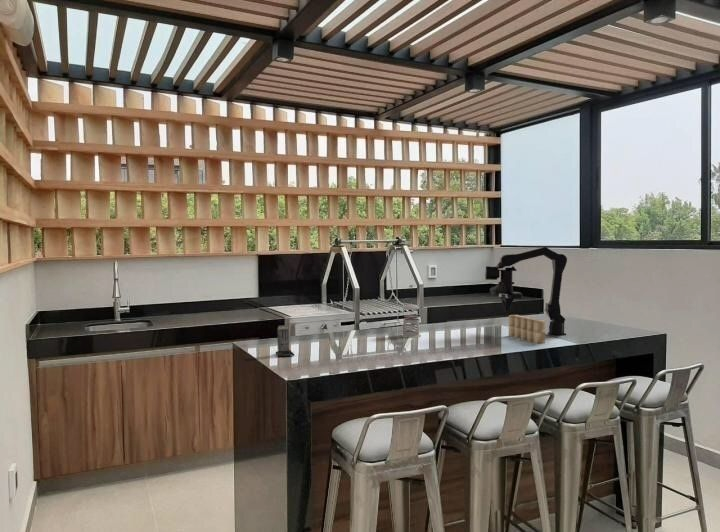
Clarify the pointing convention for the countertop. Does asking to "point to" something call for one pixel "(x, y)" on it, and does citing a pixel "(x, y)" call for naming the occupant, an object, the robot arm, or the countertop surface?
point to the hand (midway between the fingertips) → (506, 311)
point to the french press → (412, 320)
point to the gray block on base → (283, 341)
